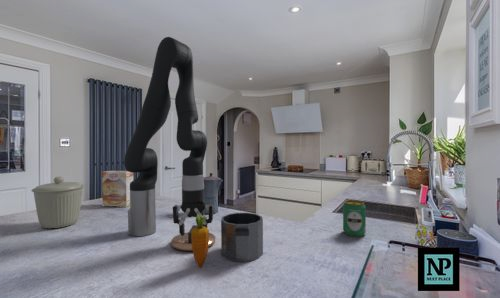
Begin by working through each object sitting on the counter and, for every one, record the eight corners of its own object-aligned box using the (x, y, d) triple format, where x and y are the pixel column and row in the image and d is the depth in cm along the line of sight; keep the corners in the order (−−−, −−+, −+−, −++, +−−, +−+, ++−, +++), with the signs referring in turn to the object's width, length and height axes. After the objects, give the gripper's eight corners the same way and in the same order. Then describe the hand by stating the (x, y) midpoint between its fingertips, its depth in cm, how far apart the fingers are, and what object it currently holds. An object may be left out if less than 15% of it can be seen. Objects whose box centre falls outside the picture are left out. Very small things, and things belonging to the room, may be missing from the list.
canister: (22, 229, 105) (21, 178, 105) (67, 217, 122) (66, 173, 121) (50, 234, 98) (48, 180, 98) (94, 221, 115) (93, 175, 115)
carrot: (192, 263, 74) (192, 212, 74) (209, 262, 75) (209, 212, 74) (190, 272, 69) (189, 217, 69) (208, 271, 70) (208, 217, 69)
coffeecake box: (102, 206, 142) (101, 171, 141) (111, 203, 149) (110, 170, 148) (126, 207, 139) (125, 172, 139) (134, 204, 146) (133, 170, 146)
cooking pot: (219, 265, 73) (219, 227, 73) (223, 242, 90) (223, 211, 89) (264, 264, 73) (264, 226, 73) (260, 241, 90) (260, 211, 90)
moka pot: (220, 215, 123) (220, 174, 122) (190, 214, 126) (190, 173, 125) (226, 210, 132) (225, 172, 132) (198, 209, 135) (197, 171, 135)
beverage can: (343, 235, 95) (343, 203, 95) (343, 228, 103) (343, 199, 102) (366, 238, 93) (366, 205, 92) (364, 231, 100) (364, 200, 100)
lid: (165, 253, 81) (165, 237, 81) (177, 236, 96) (177, 222, 96) (212, 252, 82) (212, 236, 81) (217, 235, 97) (217, 222, 96)
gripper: (169, 189, 84) (169, 239, 85) (212, 189, 85) (213, 238, 85) (175, 186, 92) (175, 231, 92) (214, 185, 92) (215, 230, 93)
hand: (193, 234), depth 89 cm, fingers open, 7 cm apart
